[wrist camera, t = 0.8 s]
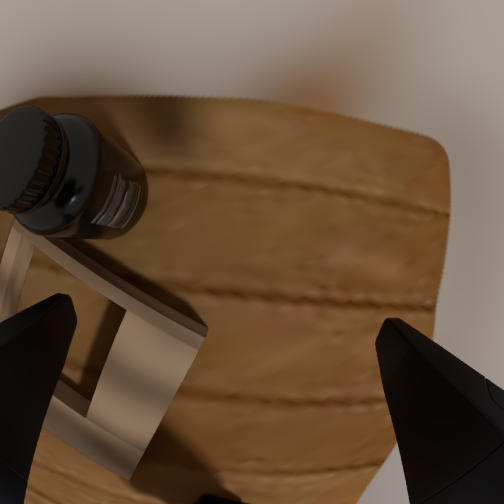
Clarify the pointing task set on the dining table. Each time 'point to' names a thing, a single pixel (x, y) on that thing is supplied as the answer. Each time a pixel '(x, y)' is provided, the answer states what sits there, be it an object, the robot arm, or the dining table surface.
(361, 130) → the dining table surface
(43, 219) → the supplement bottle
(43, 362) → the robot arm
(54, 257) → the tan flat square frame
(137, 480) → the dining table surface
